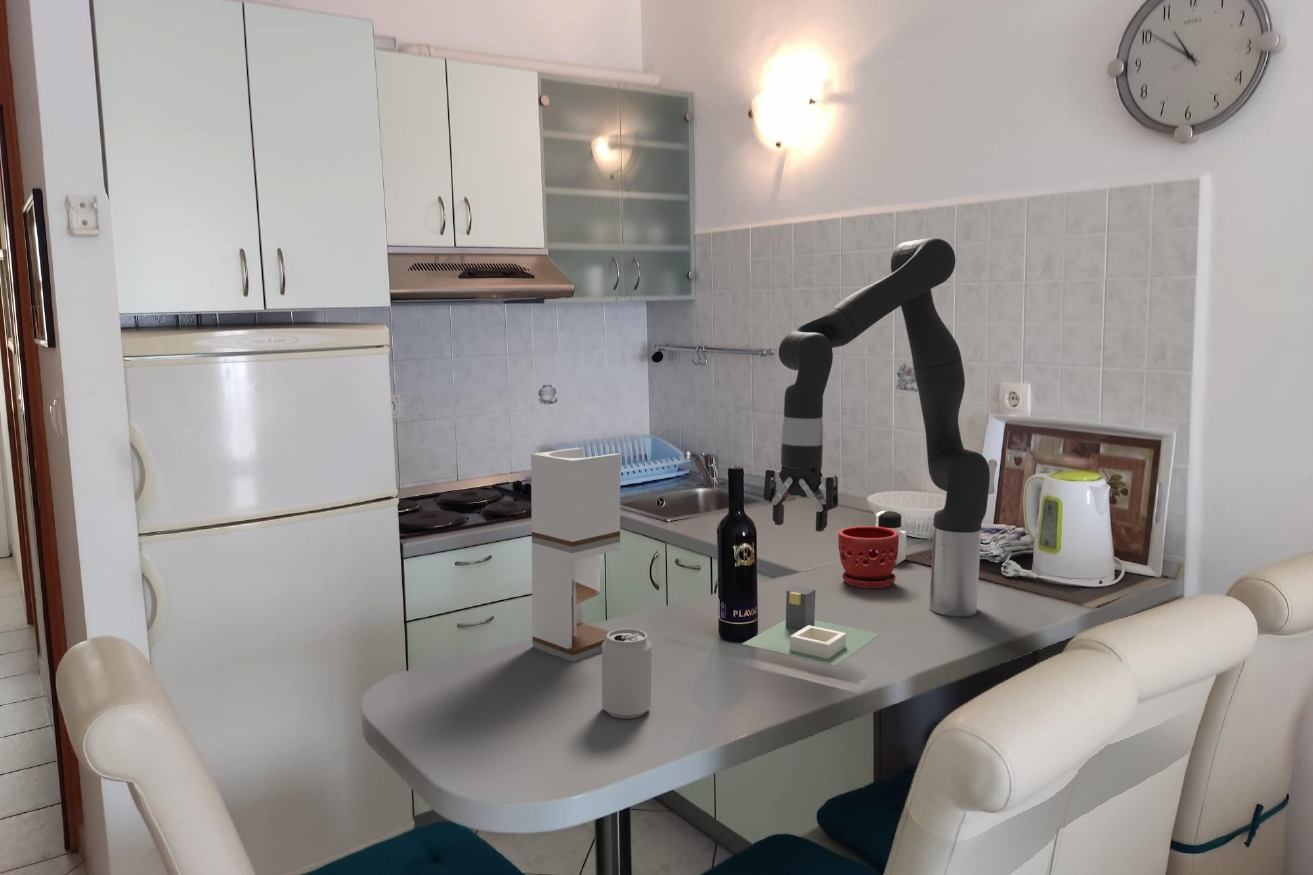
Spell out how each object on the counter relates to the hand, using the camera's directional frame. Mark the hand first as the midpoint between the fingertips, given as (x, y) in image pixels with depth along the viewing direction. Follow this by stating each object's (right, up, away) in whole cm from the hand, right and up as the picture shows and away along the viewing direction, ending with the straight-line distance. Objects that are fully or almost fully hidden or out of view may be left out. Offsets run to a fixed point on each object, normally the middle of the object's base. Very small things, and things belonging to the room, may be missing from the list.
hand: (799, 527), depth 179 cm
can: (-31, -25, -33) cm, 52 cm away
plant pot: (+20, -16, +36) cm, 45 cm away
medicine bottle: (+30, -14, +56) cm, 65 cm away
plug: (+1, -19, +3) cm, 19 cm away
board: (+2, -21, -4) cm, 21 cm away
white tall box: (-41, -21, -6) cm, 46 cm away
